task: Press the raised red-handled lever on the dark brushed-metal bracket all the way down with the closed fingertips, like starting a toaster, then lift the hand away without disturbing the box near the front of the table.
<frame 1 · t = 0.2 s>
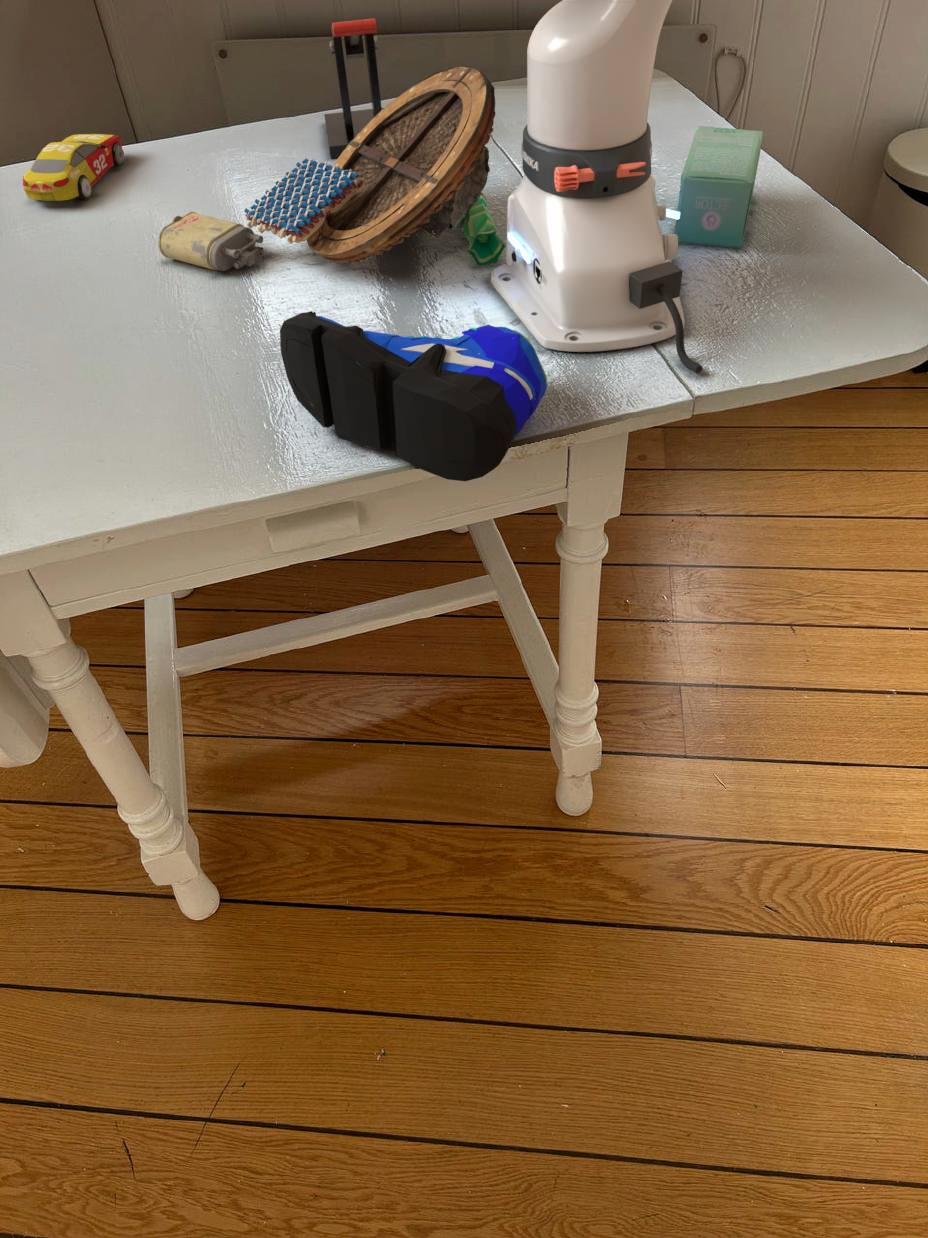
bracket: (365, 137, 126), on the table
toy car: (80, 182, 121), on the table
lever: (354, 37, 113), point 13 cm above the table, hinge at 25.0°
sneaker: (365, 404, 74), point 5 cm above the table
box: (713, 222, 104), on the table
woven mat: (307, 209, 100), point 5 cm above the table, touching lighter, round wicker shield
round wicker shield: (484, 75, 97), point 15 cm above the table, touching rock, woven mat
rock: (395, 199, 99), point 5 cm above the table, touching candy, round wicker shield
candy: (466, 208, 101), point 4 cm above the table, touching rock
lighter: (177, 232, 104), point 2 cm above the table, touching woven mat
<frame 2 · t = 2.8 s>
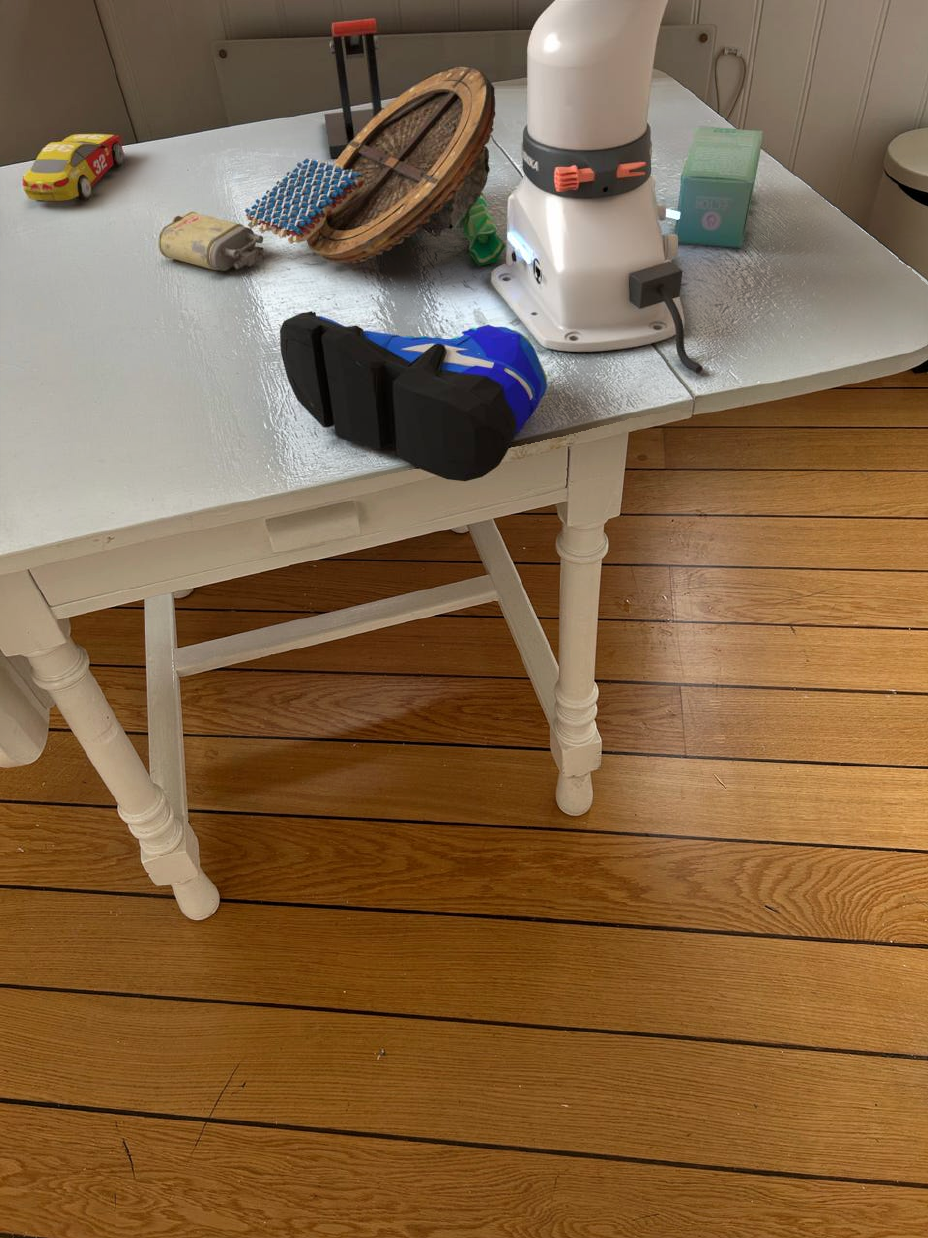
nothing on the table moved.
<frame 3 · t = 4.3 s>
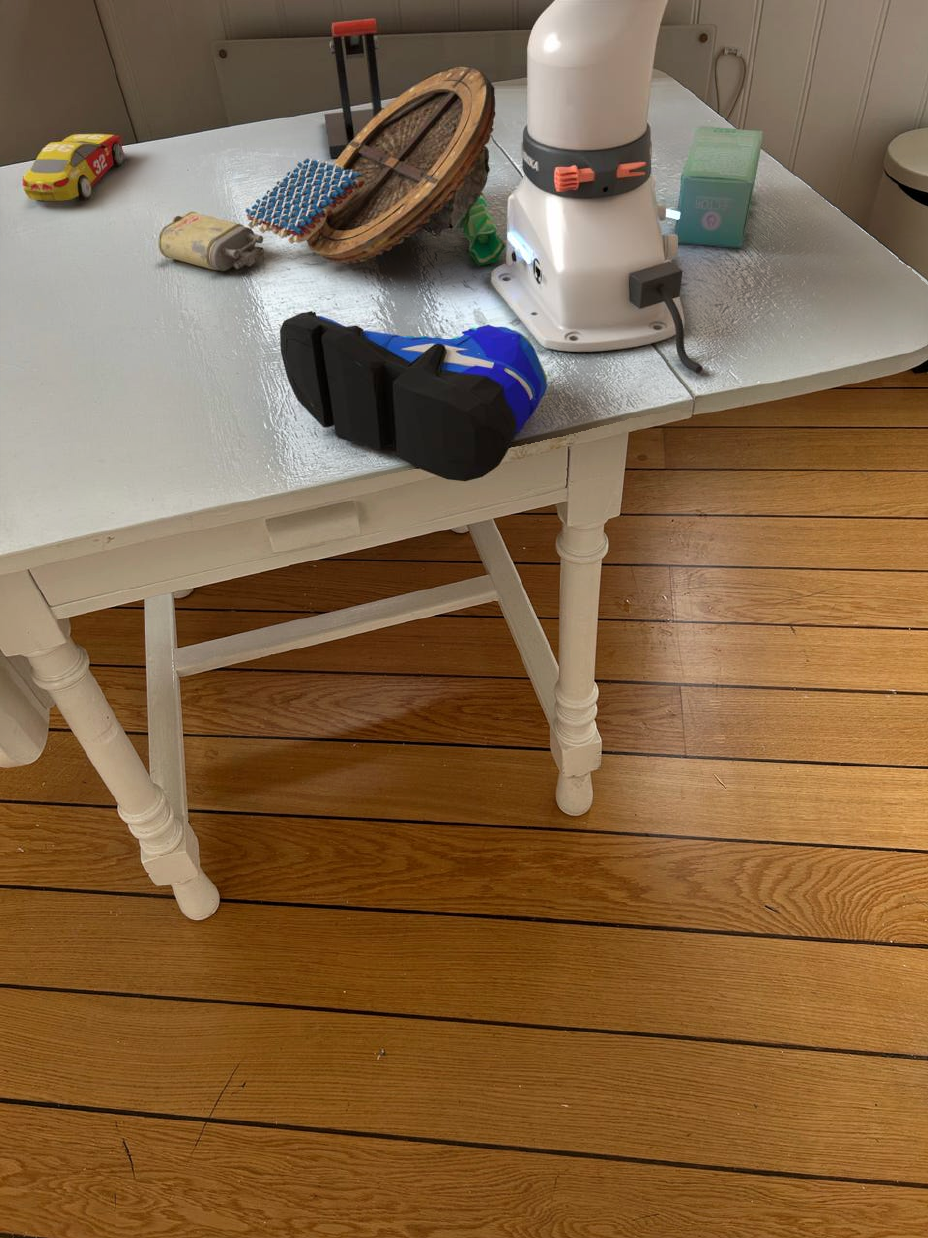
nothing on the table moved.
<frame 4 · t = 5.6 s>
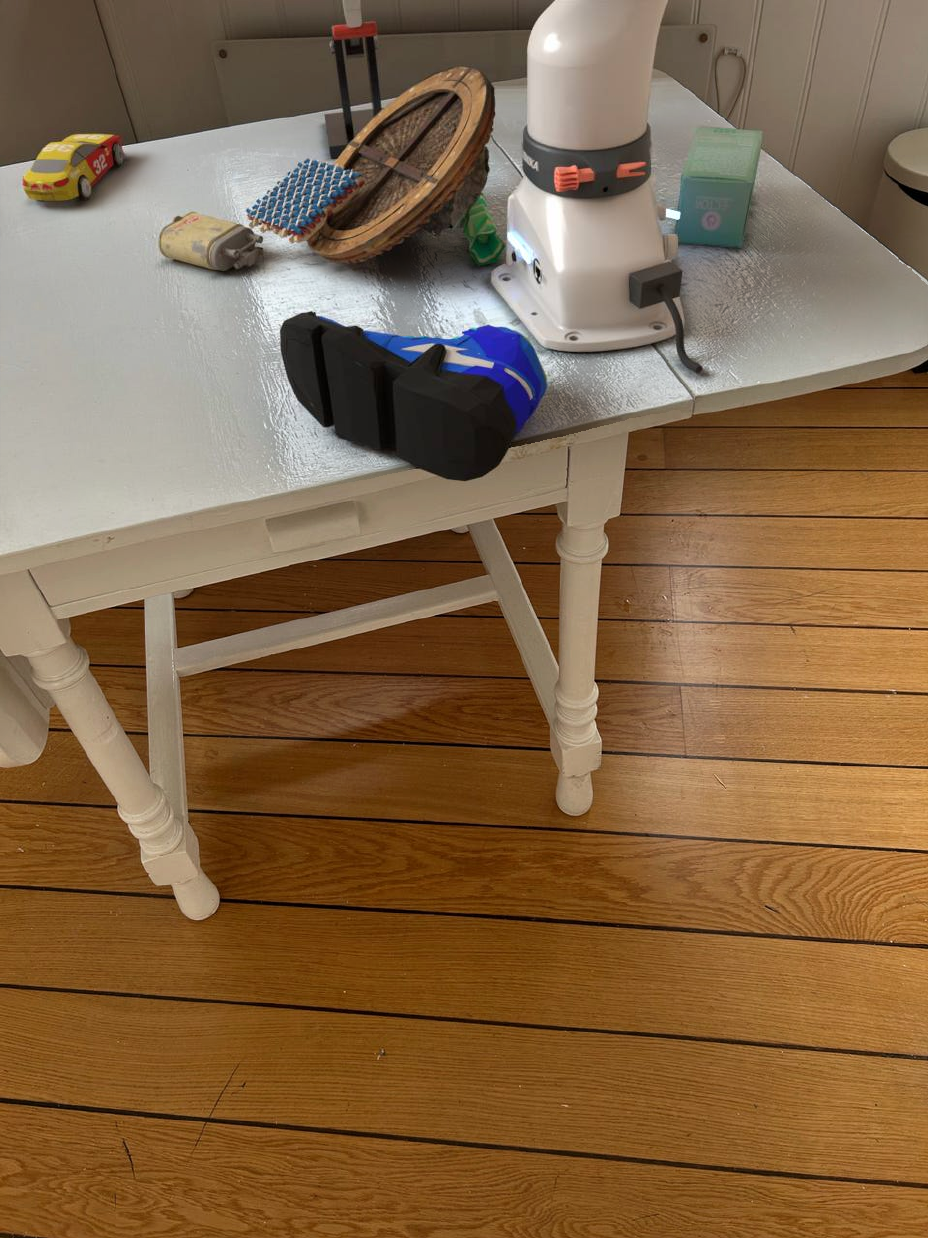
hand: (353, 23, 108), 16 cm above the table, tool pointing down, fingers closed, pressing on lever
lever: (354, 38, 113), point 13 cm above the table, hinge at 23.3°, touching gripper
everything else where it was.
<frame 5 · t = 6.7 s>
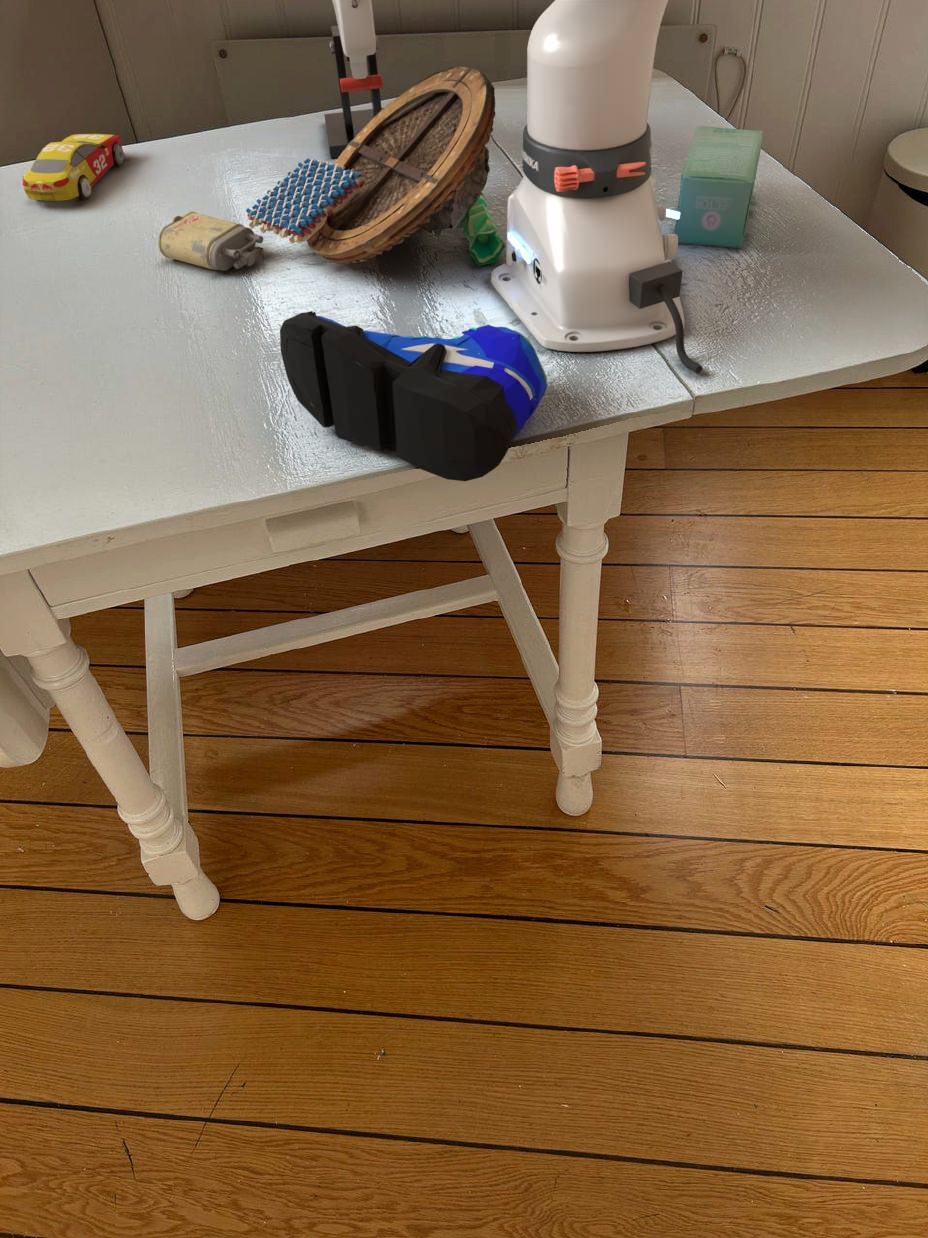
hand: (359, 74, 112), 10 cm above the table, tool pointing down, fingers closed
lever: (357, 62, 115), point 10 cm above the table, hinge at -8.0°, touching gripper
everything else where it was.
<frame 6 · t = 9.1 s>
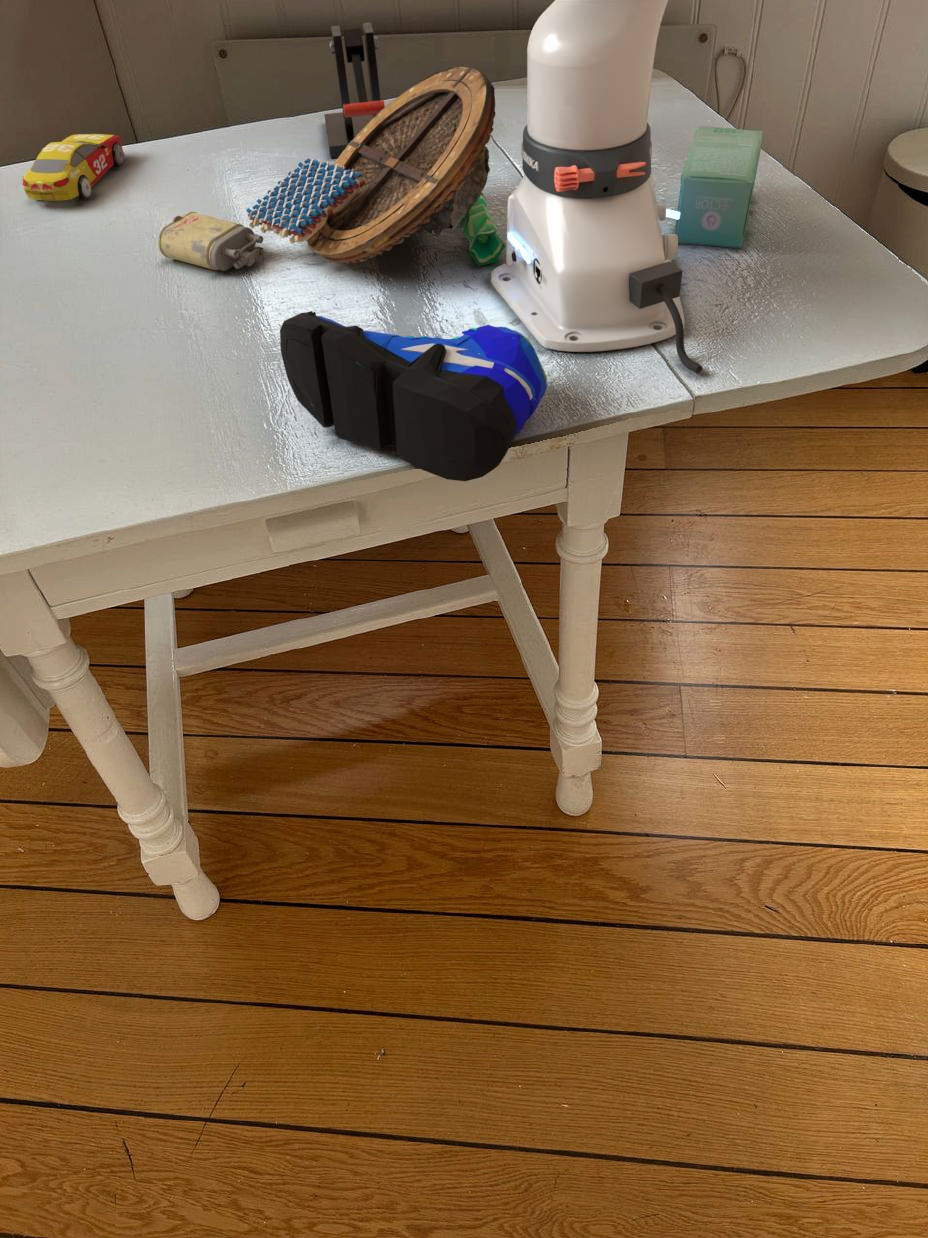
lever: (358, 74, 116), point 9 cm above the table, hinge at -27.0°
everything else where it was.
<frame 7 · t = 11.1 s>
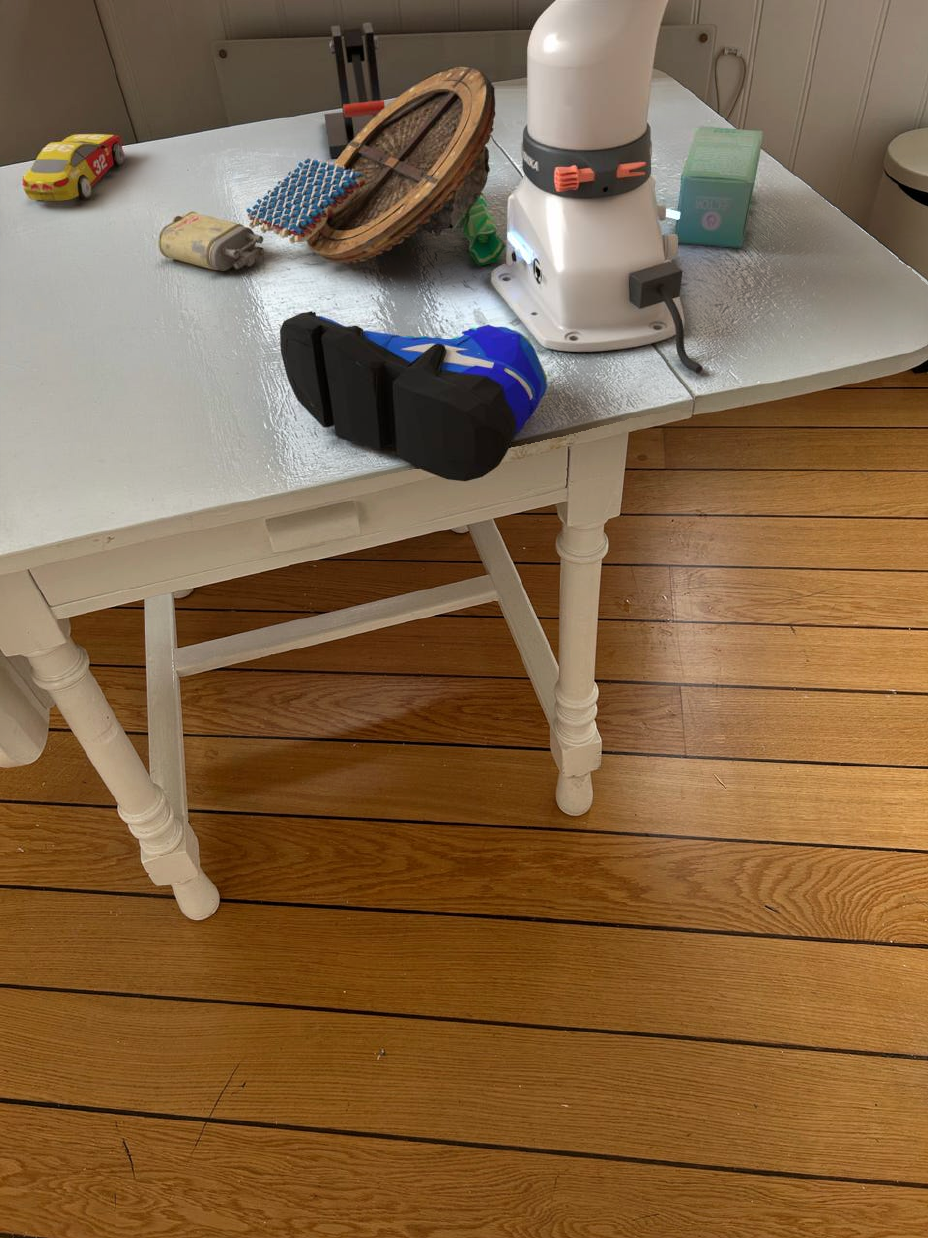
nothing on the table moved.
at the end: lever at -27° (first picture: +25°); box moved 0.2 cm from its start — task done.
